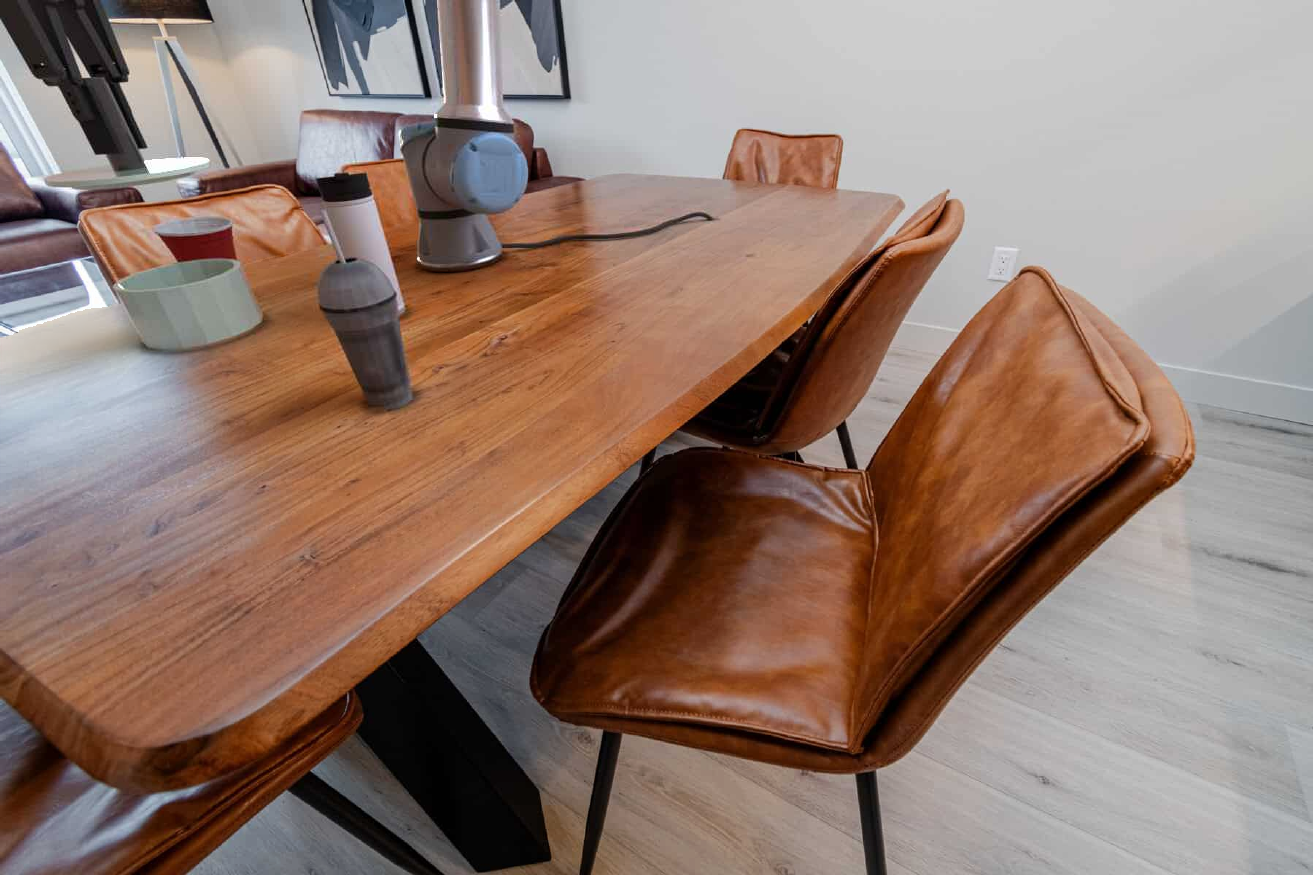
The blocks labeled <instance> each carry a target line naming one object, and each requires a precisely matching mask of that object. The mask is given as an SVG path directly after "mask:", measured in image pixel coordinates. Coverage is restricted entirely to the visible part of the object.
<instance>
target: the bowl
mask: <svg viewBox="0 0 1313 875" xmlns="http://www.w3.org/2000/svg"><path fill="white" fill-rule="evenodd" d="M112 290H113V291H114V293H115V295H116V296H117V298H118V300H119V302H120V303H121V305H122V307H123V308H124V311H125V312H126V314H127V316H128V318H129V320H130V322H131V323H132V326H133V327H134V329H135V331H136V334H137V335H138V336H139V338H140V340H141V342H142V343H143V344H144V345H145V346H146V348H148V349H149V348H150V349H154V350H155V349H156V350H161V351H162V350H164V351H165V350H179V349H188V348H195V347H199V346H205V345H211V344H214V343H216V342H220V341H224V340H227V339H230V338H235V337H236V336H238V335H240V334H242V333H245V332H247V331H249V330H252V329H253V328H254V327H256V326H257V325H259V324H260V323H262V320H263V318H264V315H263V312H262V310H261V307H260V304H259V303H258V299H257V298H256V295H255V293H254V291H253V288H252V286H251V284H250V281H249V279H248V276H247V274H246V271H245V269H244V267H243V264H242V262H240V261H238V259H237V260H235V259H222V258H217V259H201V260H193V261H186V262H179V263H178V262H175V263H169V264H164V265H160V266H156V267H152V268H148V269H144V270H141V271H138V272H135V273H131V274H130V275H127V276H125V277H123V278H120V279H118V280H117V281H116V282H115V283H114V284H112Z"/></svg>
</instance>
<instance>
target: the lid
mask: <svg viewBox="0 0 1313 875" xmlns="http://www.w3.org/2000/svg"><path fill="white" fill-rule="evenodd" d="M82 78H83V84H82V85H81V86H85V85H93V87H94V90H95V92H96V94H97V96H98V98H99V100H100V102H101V104H102V106H103V108H104V110H105V112H106V114H107V116H108V119H109V121H110V123H111V125H112V127H113V129H114V131H115V133H116V135H117V137H118V139H119V141H120V143H121V146H122V148H123V150H124V152H125V153H119V154H104V155H105V157H106V158H107V160H108V163H109V165H102V166H94V167H88V168H87V167H86V168H81V169H76V170H70V171H64V172H61V173H55V174H53V175H49V176H46V177H44V178H43V182H44V183H45V186H47V187H50V188H71V189H73V190H79V191H94V190H109V189H119V188H129V187H135V186H136V187H137V186H143V185H150V184H157V183H164V182H168V181H175V180H179V179H183V178H187V177H190V176H193V175H195V174H196V172H198V171H202V170H206V169H209V168H210V167H212V163H211V161H210V159H208V158H205V157H204V158H203V157H184V158H183V157H181V158H165V159H152V160H145V158H144V156H143V154H142V153H141V149H139V148H138V146H137V144H136V141H135V139H134V137H133V135H132V133H131V131H130V129H129V127H128V124H127V122H126V120H125V118H124V116H123V114H122V112H121V110H120V107H119V105H118V103H117V101H116V99H115V97H114V95H113V93H112V90H111V88H110V86H109V84H108V82H107V80H106V78H105V77H82Z"/></svg>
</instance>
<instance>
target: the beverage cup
mask: <svg viewBox="0 0 1313 875" xmlns="http://www.w3.org/2000/svg"><path fill="white" fill-rule="evenodd" d="M319 213H320V216H321V218H322V221H323V223H324V227H325V229H326V231H327V233H328V236H329V239H330V242H331V244H332V246H333V249H334V251H335V254H336V257H337V259H336V260H334V261H333V262H331V263H329V264H328V265H327V266H326V267H325V268H324V269H323V271H322V272H321V274H320V276H319V278H318V282H317V288H316V293H317V294H316V295H317V299H318V308H319V311H321V312H323V313H322V314H323V315H324V317H325V320H326V321H327V323H328V324H329V326H330V328H331V329H333V331H334V333H335V335H336V337H337V340H338V342H339V344H340V346H341V348H342V350H343V352H344V355H345V357H346V359H347V361H348V363H349V366H350V367H351V370H352V373H353V374H354V377H355V379H356V381H357V383H358V385H359V387H360V389H361V392H362V394H363V396H364V397H365V399H366V400H367V403H368V404H370V405H371V406H373V407H388V409H387V411H393V410H397V409H400V408H402V407H404V406H406V405H407V404H409V403H410V402H411V401H412V400H413V397H414V396H413V391H412V385H411V384H412V381H411V377H410V371H409V365H408V362H407V356H406V352H405V346H404V341H403V336H402V331H401V327H400V320H399V315H398V304H397V299H396V296H397V293H396V291H395V290H394V288H393V286H392V284H391V282H390V280H389V279H388V277H387V276H386V275H385V273H384V272H383V271H382V270H381V269H380V268H379V267H377V266H376V265H375V264H373V263H371V262H369V261H367V260H364V259H361V258H356V257H349V258H344V257H343V254H342V252H341V249H340V246H339V244H338V241H337V239H336V236H335V234H334V231H333V229H332V226H331V224H330V221H329V219H328V216H327V213H326V210H325V209H321V210H319Z"/></svg>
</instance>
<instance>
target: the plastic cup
mask: <svg viewBox="0 0 1313 875" xmlns="http://www.w3.org/2000/svg"><path fill="white" fill-rule="evenodd" d="M234 222H235V221H234V219H232V218H231V217H226V216H212V215H206V216H205V215H203V216H202V215H201V216H189V217H182V218H181V217H180V218H176V219H175V218H174V219H170V220H165V221H162V222H160V223H156V224H155V225H153V227H151V230H152V231H153V233H154V234H156V235H157V236H158V237H159V238H160V240H161V241H162V242H163V243H164V245H165V246H166V248H167V249H168V250H169V252H170V253H171V254H172V256H173V257H174V259H175V260H176V262H177V263H179V262H186V261H193V260H201V259H217V258H222V259H235V260H237V261H238V258H237V253H236V248H235V244H234V236H233V225H234V224H235V223H234Z"/></svg>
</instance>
